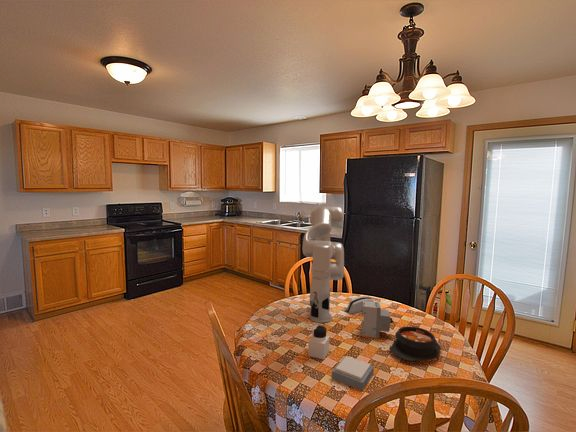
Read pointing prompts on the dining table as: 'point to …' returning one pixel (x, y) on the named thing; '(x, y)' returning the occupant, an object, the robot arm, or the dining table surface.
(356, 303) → the grey curved block
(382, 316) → the circuit breaker
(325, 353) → the medicine bottle
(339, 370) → the stand
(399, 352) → the casserole
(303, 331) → the dining table surface
